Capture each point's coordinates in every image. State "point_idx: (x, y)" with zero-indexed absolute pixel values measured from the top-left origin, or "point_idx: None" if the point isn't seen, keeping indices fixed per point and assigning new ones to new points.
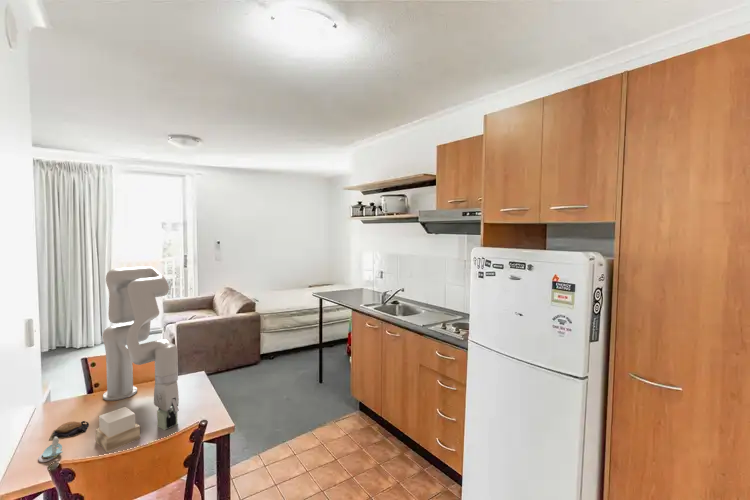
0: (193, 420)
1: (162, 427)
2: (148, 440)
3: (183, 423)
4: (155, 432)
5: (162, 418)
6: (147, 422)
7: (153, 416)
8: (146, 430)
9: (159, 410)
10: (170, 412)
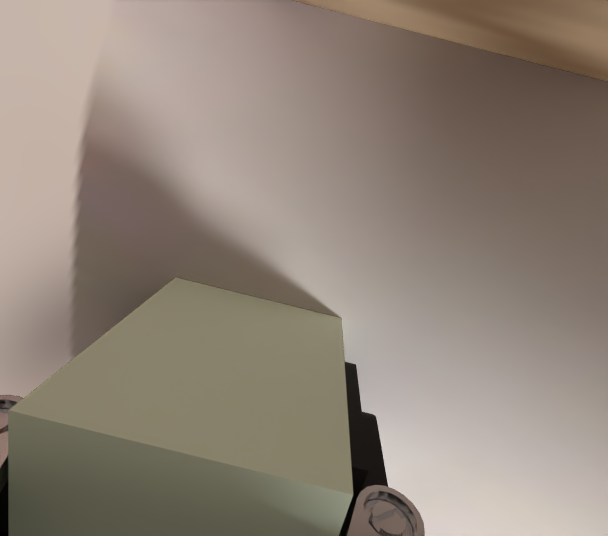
0: None
1: (202, 294)
2: (116, 14)
3: None
4: (221, 200)
5: (133, 360)
6: (538, 329)
7: (580, 447)
8: (377, 187)
9: (300, 513)
10: (17, 523)
